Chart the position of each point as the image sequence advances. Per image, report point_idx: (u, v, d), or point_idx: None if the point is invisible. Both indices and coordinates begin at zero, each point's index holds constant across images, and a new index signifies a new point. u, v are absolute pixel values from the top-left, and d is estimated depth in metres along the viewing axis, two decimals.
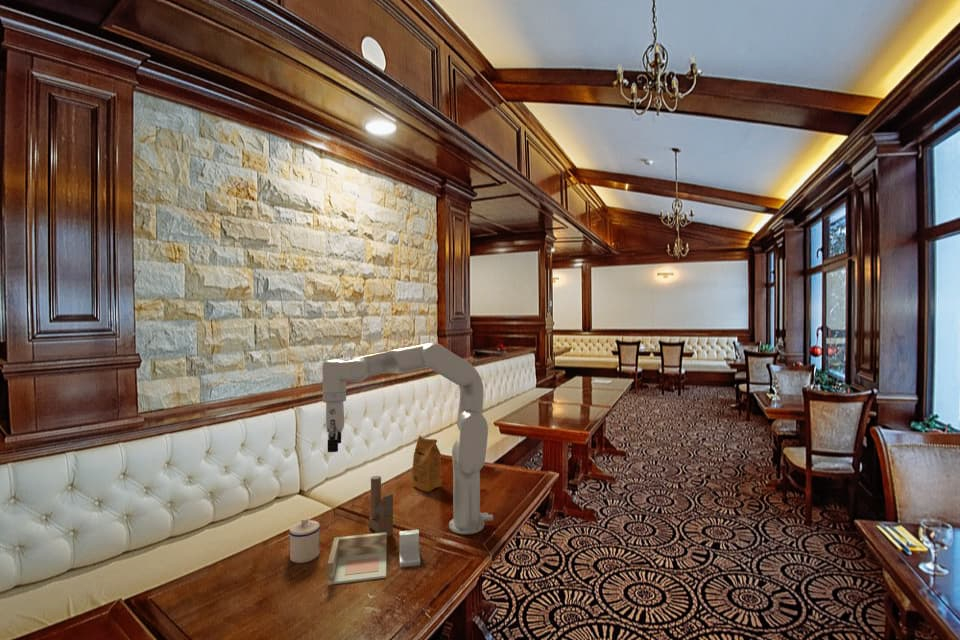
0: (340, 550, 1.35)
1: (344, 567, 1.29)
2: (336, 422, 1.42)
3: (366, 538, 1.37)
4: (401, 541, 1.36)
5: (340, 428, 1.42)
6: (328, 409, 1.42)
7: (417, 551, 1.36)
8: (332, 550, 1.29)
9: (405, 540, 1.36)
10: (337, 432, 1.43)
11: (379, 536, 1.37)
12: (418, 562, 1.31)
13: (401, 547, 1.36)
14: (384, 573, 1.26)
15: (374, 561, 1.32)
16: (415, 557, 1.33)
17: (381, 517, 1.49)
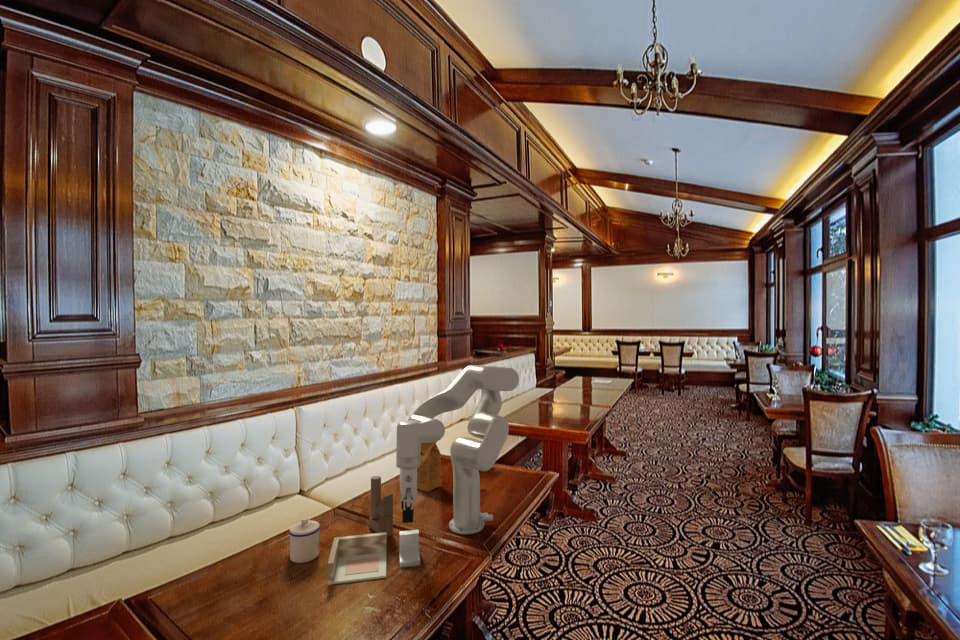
0: (340, 550, 1.35)
1: (344, 567, 1.29)
2: (412, 490, 1.32)
3: (366, 538, 1.37)
4: (401, 541, 1.36)
5: (416, 497, 1.33)
6: (404, 476, 1.32)
7: (417, 551, 1.36)
8: (332, 550, 1.29)
9: (405, 540, 1.36)
10: None
11: (379, 536, 1.37)
12: (418, 562, 1.31)
13: (401, 547, 1.36)
14: (384, 573, 1.26)
15: (374, 561, 1.32)
16: (415, 557, 1.33)
17: (381, 517, 1.49)
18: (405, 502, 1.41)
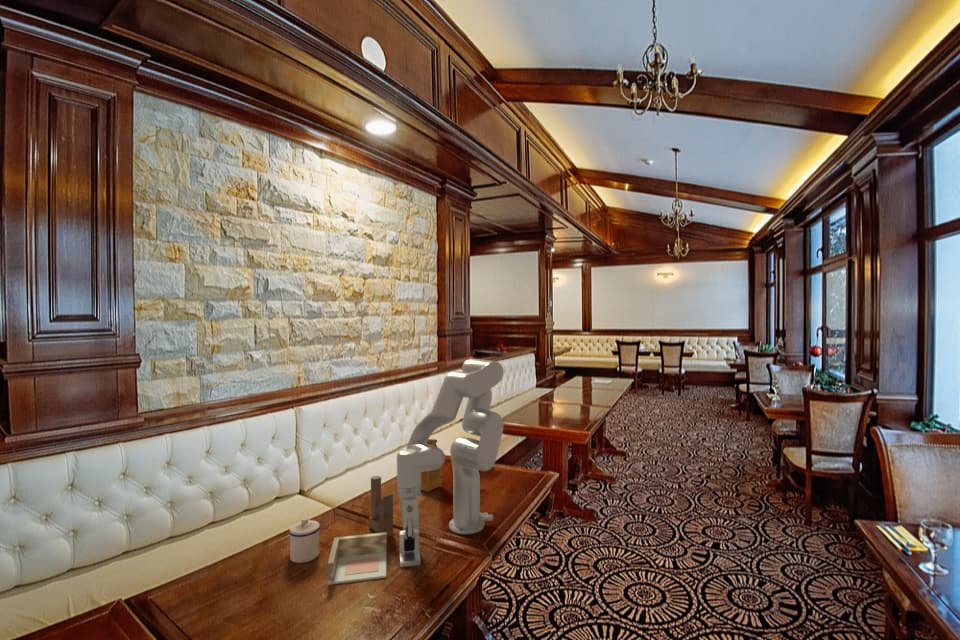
0: (340, 550, 1.35)
1: (344, 567, 1.29)
2: (413, 520, 1.33)
3: (366, 538, 1.37)
4: (401, 541, 1.36)
5: (417, 526, 1.33)
6: (405, 506, 1.33)
7: (417, 551, 1.36)
8: (332, 550, 1.29)
9: None
10: (413, 529, 1.36)
11: (379, 536, 1.37)
12: (418, 562, 1.31)
13: (401, 547, 1.36)
14: (384, 573, 1.26)
15: (374, 561, 1.32)
16: (415, 557, 1.33)
17: (381, 517, 1.49)
18: None
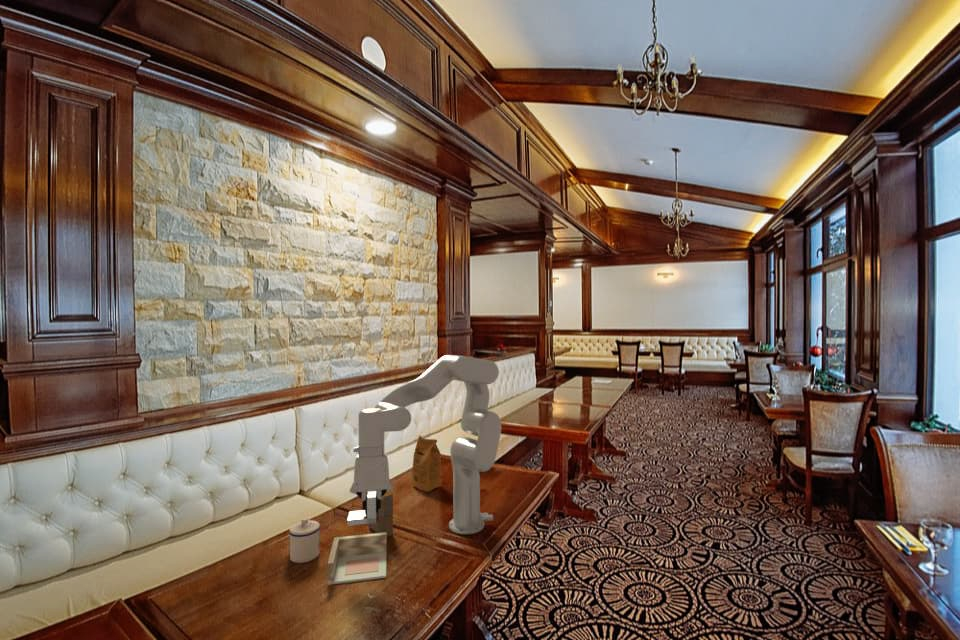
0: (340, 550, 1.35)
1: (344, 567, 1.29)
2: None
3: (366, 538, 1.37)
4: None
5: (354, 486, 1.27)
6: None
7: (365, 517, 1.28)
8: (332, 550, 1.29)
9: None
10: (365, 491, 1.29)
11: (379, 536, 1.37)
12: (347, 521, 1.27)
13: None
14: (384, 573, 1.26)
15: (374, 561, 1.32)
16: (353, 517, 1.28)
17: (381, 517, 1.49)
18: None
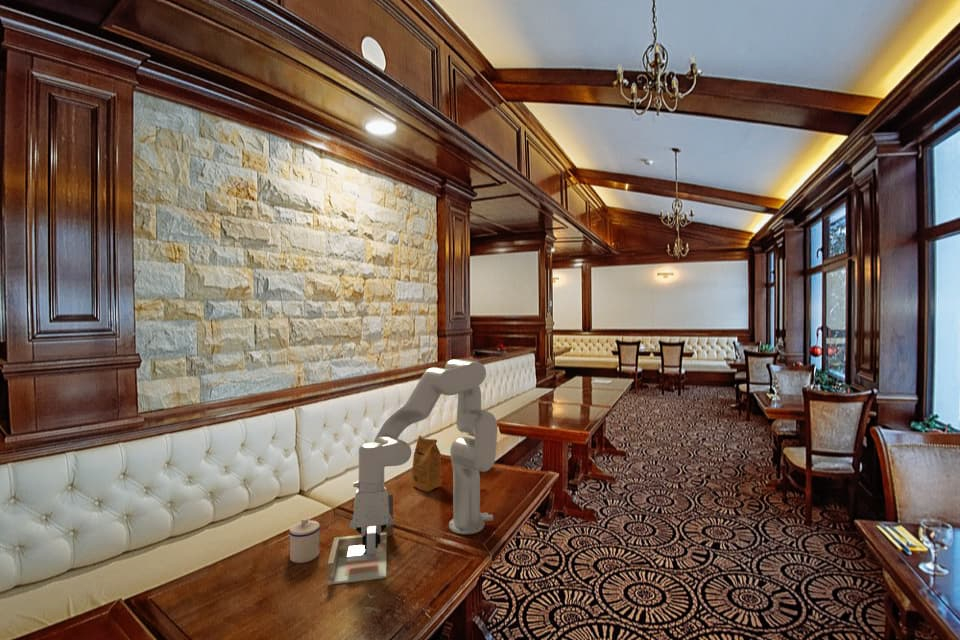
0: (340, 550, 1.35)
1: (344, 567, 1.29)
2: None
3: None
4: None
5: (354, 522, 1.27)
6: None
7: (365, 553, 1.28)
8: (332, 550, 1.29)
9: None
10: (364, 527, 1.29)
11: None
12: (347, 557, 1.26)
13: None
14: (384, 573, 1.26)
15: (374, 561, 1.32)
16: (353, 553, 1.28)
17: None
18: None
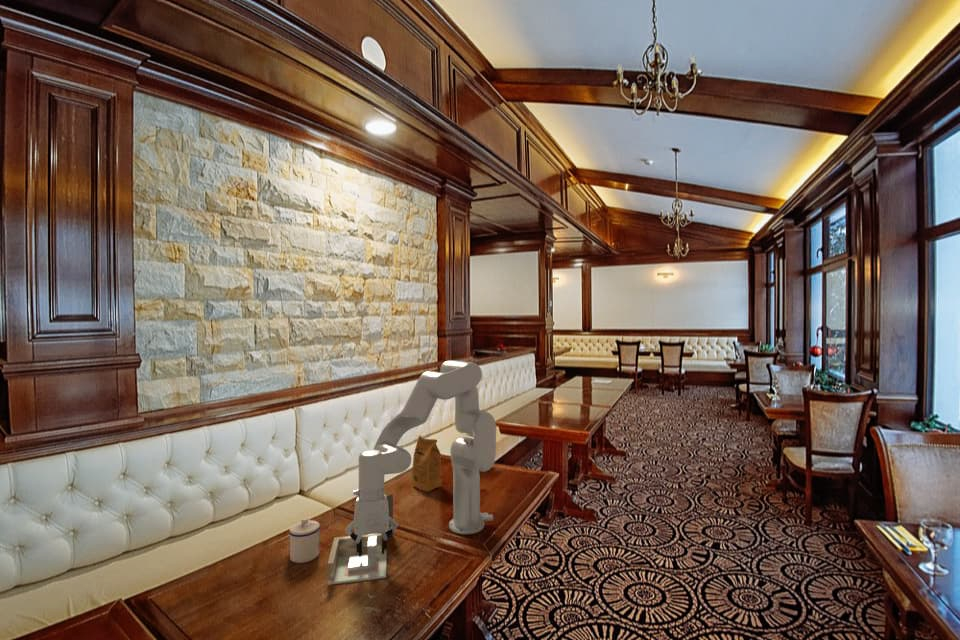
0: (340, 550, 1.35)
1: (344, 567, 1.29)
2: (353, 521, 1.28)
3: (366, 538, 1.37)
4: None
5: (354, 530, 1.27)
6: None
7: (366, 564, 1.28)
8: (332, 550, 1.29)
9: None
10: None
11: (379, 536, 1.37)
12: (348, 568, 1.27)
13: None
14: (384, 573, 1.26)
15: None
16: (354, 564, 1.28)
17: None
18: None
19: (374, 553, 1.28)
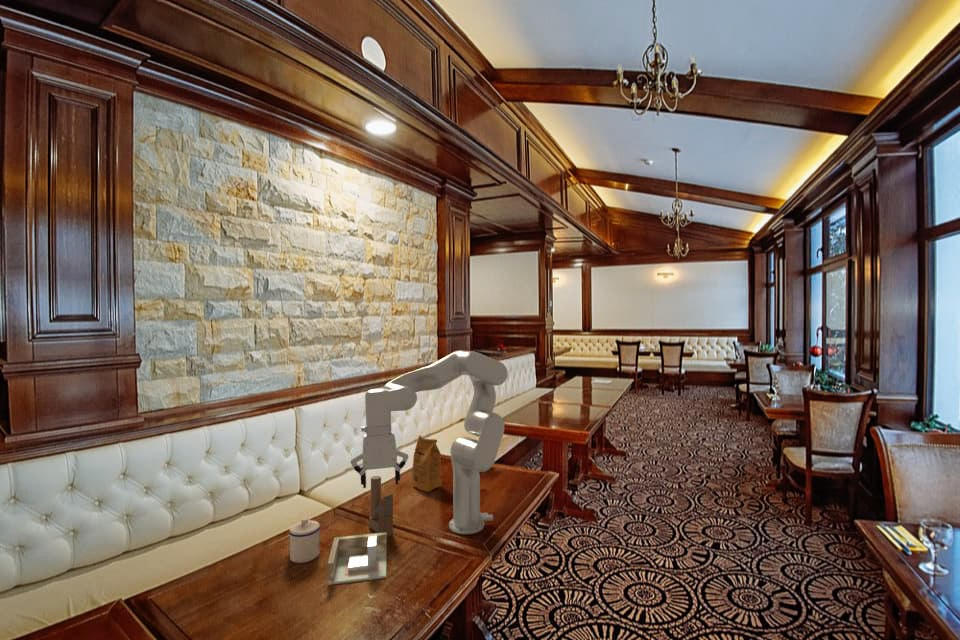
0: (340, 550, 1.35)
1: (344, 567, 1.29)
2: (362, 456, 1.31)
3: (366, 538, 1.37)
4: None
5: (363, 465, 1.30)
6: None
7: (366, 564, 1.28)
8: (332, 550, 1.29)
9: None
10: None
11: (379, 536, 1.37)
12: (348, 568, 1.27)
13: None
14: (384, 573, 1.26)
15: None
16: (354, 564, 1.28)
17: (381, 517, 1.49)
18: None
19: (374, 553, 1.28)
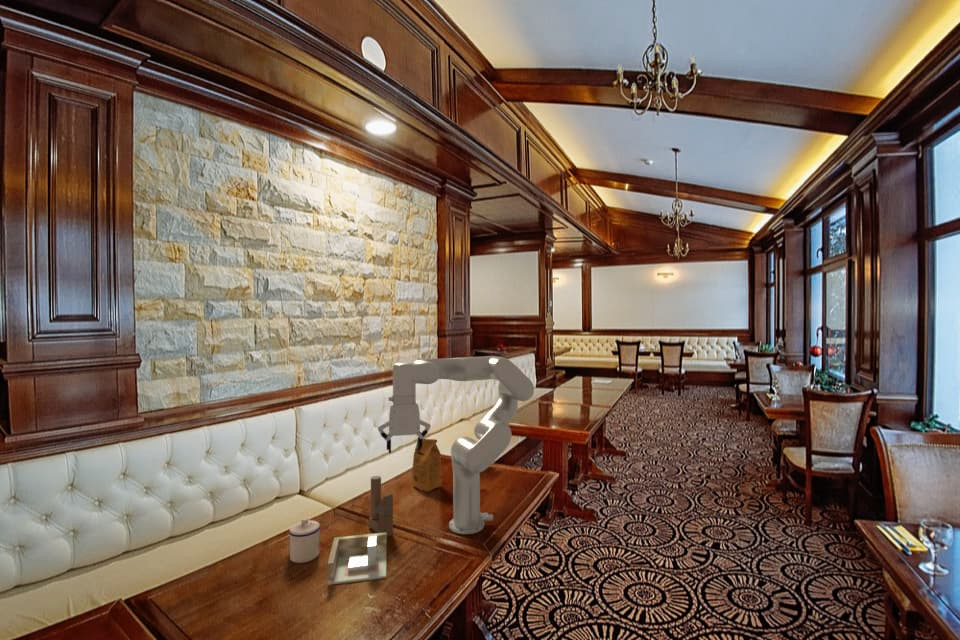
0: (340, 550, 1.35)
1: (344, 567, 1.29)
2: (388, 424, 1.43)
3: (366, 538, 1.37)
4: None
5: (389, 431, 1.42)
6: None
7: (366, 564, 1.28)
8: (332, 550, 1.29)
9: None
10: None
11: (379, 536, 1.37)
12: (348, 568, 1.27)
13: None
14: (384, 573, 1.26)
15: None
16: (354, 564, 1.28)
17: (381, 517, 1.49)
18: None
19: (374, 553, 1.28)
